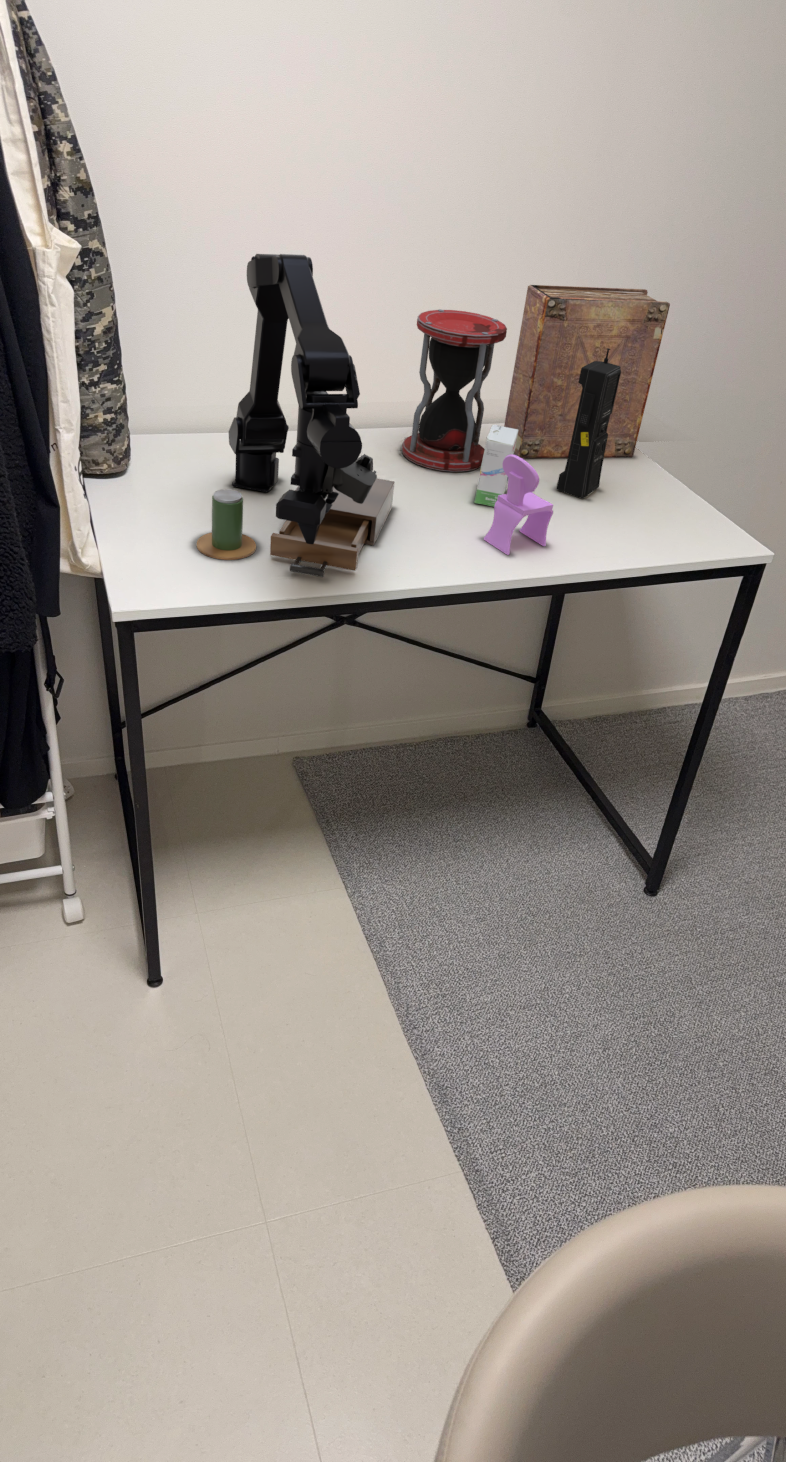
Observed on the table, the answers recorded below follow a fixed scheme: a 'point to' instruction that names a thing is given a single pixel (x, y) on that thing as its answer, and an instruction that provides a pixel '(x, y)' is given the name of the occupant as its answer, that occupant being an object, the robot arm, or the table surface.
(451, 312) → the hourglass
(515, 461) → the toy chair
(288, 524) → the drawer
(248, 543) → the coaster
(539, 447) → the book
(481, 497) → the ink box
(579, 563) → the table surface
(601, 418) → the portable radio
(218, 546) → the can
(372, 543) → the cabinet
